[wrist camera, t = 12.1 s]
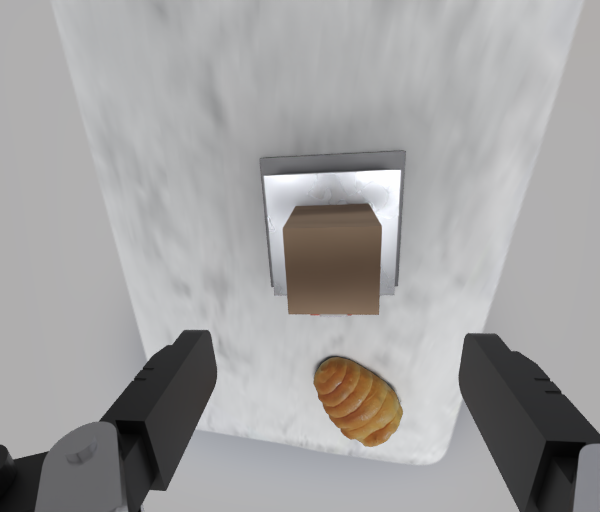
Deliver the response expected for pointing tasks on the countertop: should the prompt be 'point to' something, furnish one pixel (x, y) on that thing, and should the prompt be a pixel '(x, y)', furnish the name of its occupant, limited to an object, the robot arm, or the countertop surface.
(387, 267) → the pan
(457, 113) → the countertop surface
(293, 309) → the walnut block
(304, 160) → the base
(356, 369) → the pastry
